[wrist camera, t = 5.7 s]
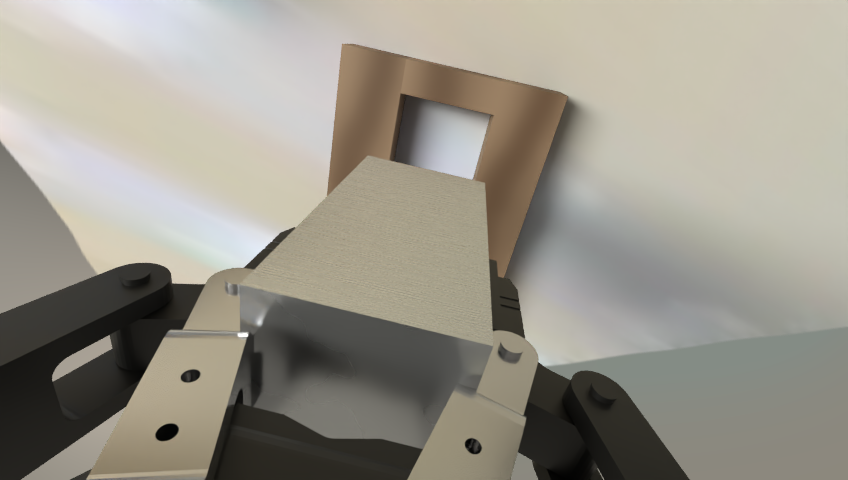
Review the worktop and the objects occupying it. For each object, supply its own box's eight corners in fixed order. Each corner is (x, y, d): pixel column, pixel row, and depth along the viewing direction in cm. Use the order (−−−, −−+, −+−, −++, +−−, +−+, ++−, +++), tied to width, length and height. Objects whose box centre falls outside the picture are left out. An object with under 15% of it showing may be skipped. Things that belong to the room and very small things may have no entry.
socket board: (560, 92, 26) (569, 97, 24) (473, 343, 36) (473, 365, 34) (353, 43, 26) (340, 44, 24) (324, 307, 36) (313, 326, 34)
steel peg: (485, 183, 15) (493, 346, 7) (456, 281, 17) (436, 497, 9) (367, 155, 15) (240, 283, 7) (353, 257, 17) (241, 447, 9)
